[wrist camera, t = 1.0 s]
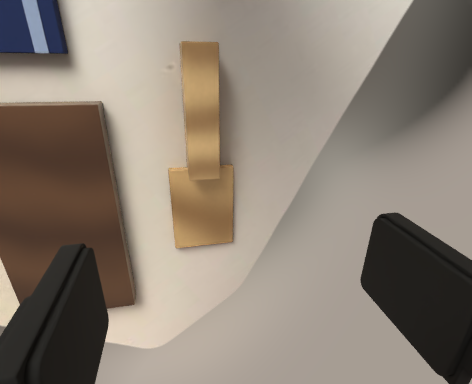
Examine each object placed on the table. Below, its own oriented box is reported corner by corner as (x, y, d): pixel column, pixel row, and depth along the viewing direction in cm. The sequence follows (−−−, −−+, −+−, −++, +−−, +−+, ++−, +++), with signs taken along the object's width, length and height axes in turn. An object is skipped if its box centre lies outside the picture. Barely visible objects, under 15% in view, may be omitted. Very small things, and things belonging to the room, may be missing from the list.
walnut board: (-48, 103, 25) (-63, 106, 23) (101, 101, 27) (97, 104, 25) (32, 308, 35) (26, 320, 33) (136, 294, 37) (134, 304, 36)
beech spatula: (156, 42, 26) (154, 40, 22) (233, 44, 27) (242, 42, 24) (175, 244, 35) (176, 265, 32) (231, 238, 37) (238, 258, 33)
